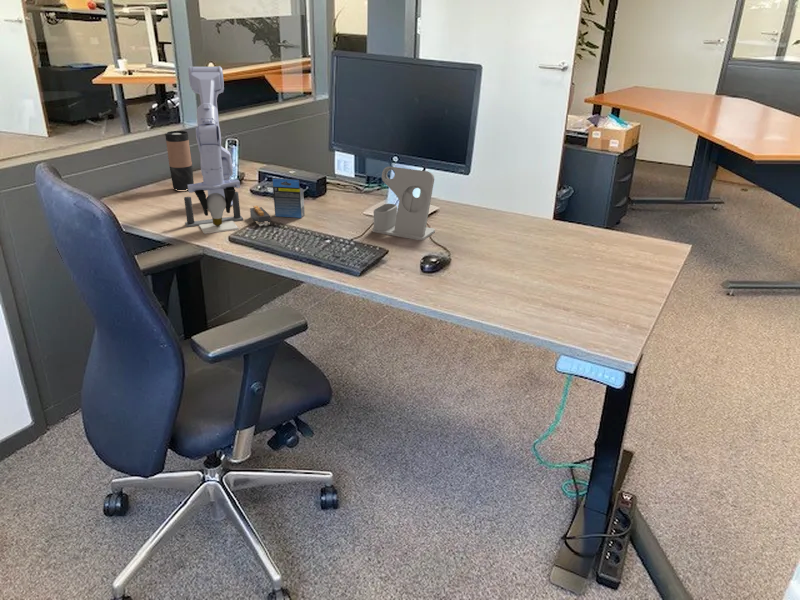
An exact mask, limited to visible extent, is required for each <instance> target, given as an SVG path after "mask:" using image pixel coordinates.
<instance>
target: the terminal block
mask: <svg viewBox="0 0 800 600" xmlns="http://www.w3.org/2000/svg"><path fill="white" fill-rule="evenodd" d="M252 206H253V208H252V207H250V208H249V212H250V218H251V220H252V221H253V222H254V221H258V222H264V221H268V222H271V219H272V218H271V215H270V214H269V213H268V212H267V211H266V210H265V208H263V207H262V206H258V205H252ZM271 223H272V222H271Z"/></svg>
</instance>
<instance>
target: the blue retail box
mask: <svg viewBox="0 0 800 600" xmlns="http://www.w3.org/2000/svg"><path fill="white" fill-rule="evenodd" d="M271 180H272V192H273V204H274V206H273V207H274V216H275V218H278V217H279V218H280V217H281V218H297V219H302V218H303V217H304V216H305V198H304V196H305V195H304V189H303V188H301V187H300V180H299V179H289V178H273V177H272V179H271ZM285 183H287V184H285Z"/></svg>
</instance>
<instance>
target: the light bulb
mask: <svg viewBox="0 0 800 600" xmlns="http://www.w3.org/2000/svg"><path fill="white" fill-rule="evenodd" d="M206 204H207V210H208V213H210V216H211V219H213V224H214V225H216V226H220V225H221V224H222V218H223V214H224V211H225V210H226V200H225V198H224V196H222V195H221V194H219V193H212V194H210V195H209V196H208V195H207V196H206Z"/></svg>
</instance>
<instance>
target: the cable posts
mask: <svg viewBox="0 0 800 600" xmlns="http://www.w3.org/2000/svg"><path fill="white" fill-rule="evenodd" d="M239 197H240V196H239V192H238V191H235V194H234V196H233V199H232V203H233V205H232V209H233V210H232V211H233V215H232V216H228V217H227V216H226V217H222V222H225V221H233V222H238V221H244V217H243V216H242V215H241V208H240V206H241V205H240V198H239ZM183 199H184V200H183V201H184V207H185V215H186V221H185V222H184V225H185V227H186V228H192V227H198V226H199V225H201V224H209V223H213V219H212V218H210V219H201V220H195V217H194V209H193V202H192V197H191V196H184V197H183Z"/></svg>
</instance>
